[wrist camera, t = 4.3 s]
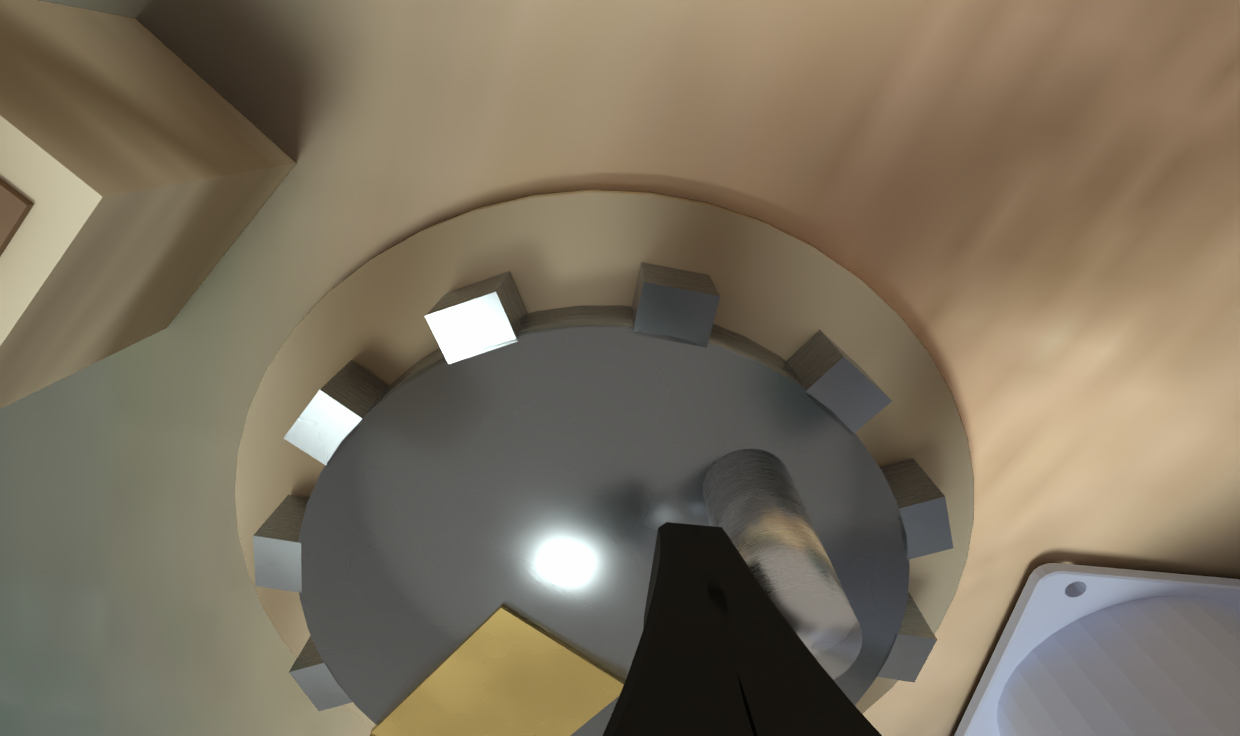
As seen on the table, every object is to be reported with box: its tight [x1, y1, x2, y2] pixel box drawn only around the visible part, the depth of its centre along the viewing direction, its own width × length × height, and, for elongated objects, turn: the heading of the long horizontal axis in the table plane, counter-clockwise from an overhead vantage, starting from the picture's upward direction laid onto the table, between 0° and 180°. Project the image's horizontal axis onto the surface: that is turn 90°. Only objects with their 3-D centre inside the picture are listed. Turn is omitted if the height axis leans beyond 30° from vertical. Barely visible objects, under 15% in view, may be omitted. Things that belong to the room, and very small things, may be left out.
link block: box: [0, 0, 296, 409], centre depth 10 cm, size 4×5×5 cm
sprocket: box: [253, 262, 953, 736], centre depth 13 cm, size 15×15×6 cm
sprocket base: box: [235, 190, 974, 736], centre depth 15 cm, size 18×18×3 cm
